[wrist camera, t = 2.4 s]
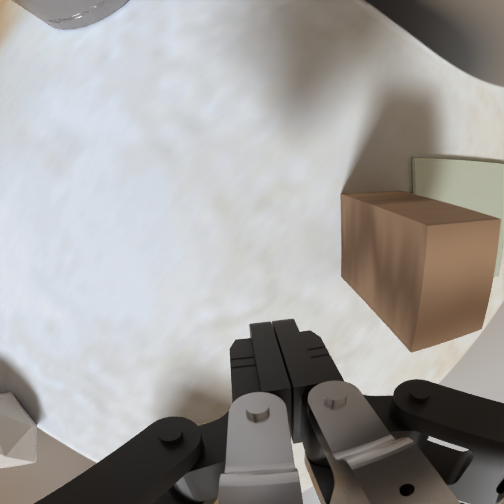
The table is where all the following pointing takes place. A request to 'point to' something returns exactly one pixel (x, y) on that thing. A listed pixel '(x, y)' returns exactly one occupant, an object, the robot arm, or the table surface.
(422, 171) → the mat
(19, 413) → the die
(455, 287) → the walnut block
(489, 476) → the robot arm
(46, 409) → the table surface
